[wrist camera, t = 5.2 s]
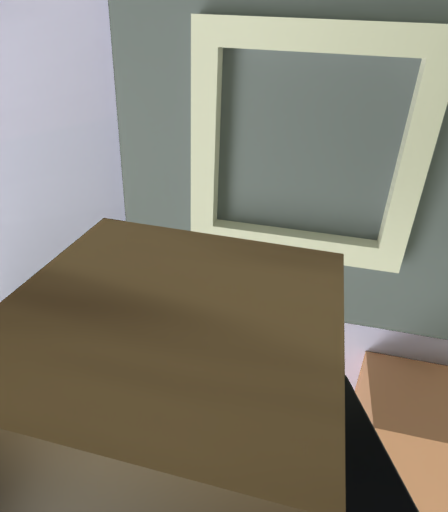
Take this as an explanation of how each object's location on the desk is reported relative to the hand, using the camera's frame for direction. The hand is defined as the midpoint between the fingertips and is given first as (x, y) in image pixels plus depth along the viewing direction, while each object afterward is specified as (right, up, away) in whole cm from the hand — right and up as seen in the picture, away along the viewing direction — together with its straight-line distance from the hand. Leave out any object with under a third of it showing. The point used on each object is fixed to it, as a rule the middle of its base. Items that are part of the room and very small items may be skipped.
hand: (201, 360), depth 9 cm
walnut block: (0, 0, +1) cm, 1 cm away
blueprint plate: (+4, +7, +9) cm, 12 cm away
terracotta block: (+10, -5, +14) cm, 18 cm away
